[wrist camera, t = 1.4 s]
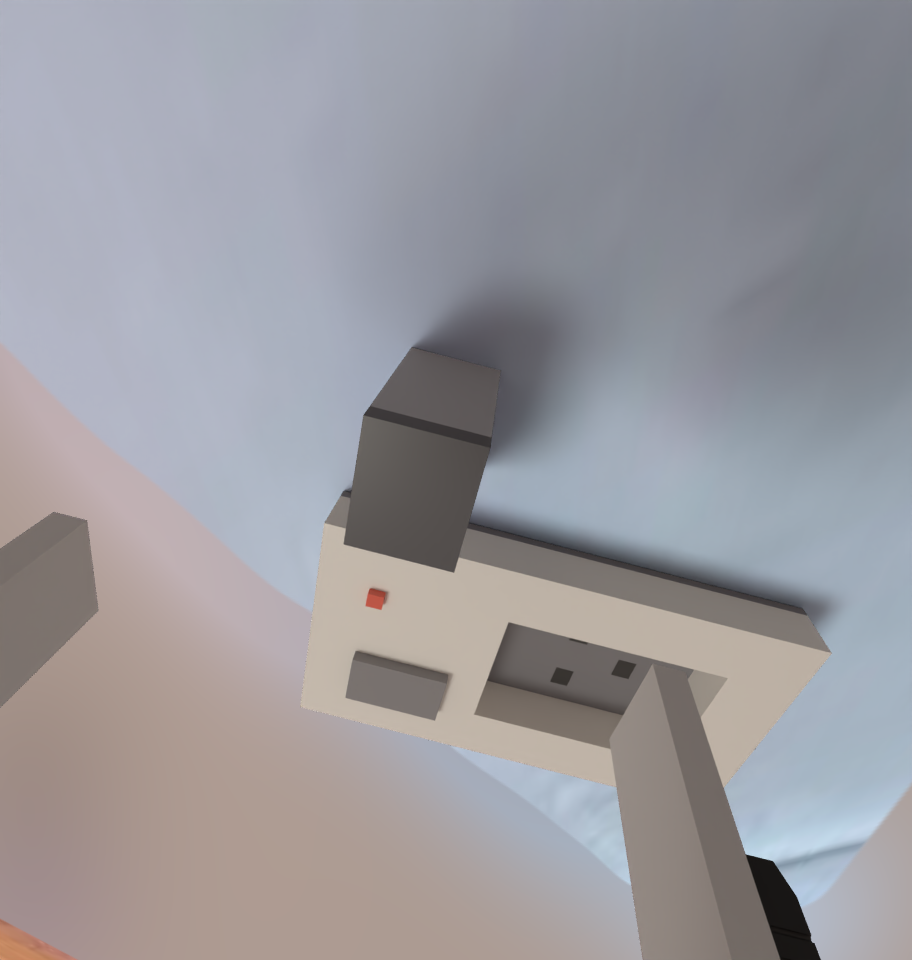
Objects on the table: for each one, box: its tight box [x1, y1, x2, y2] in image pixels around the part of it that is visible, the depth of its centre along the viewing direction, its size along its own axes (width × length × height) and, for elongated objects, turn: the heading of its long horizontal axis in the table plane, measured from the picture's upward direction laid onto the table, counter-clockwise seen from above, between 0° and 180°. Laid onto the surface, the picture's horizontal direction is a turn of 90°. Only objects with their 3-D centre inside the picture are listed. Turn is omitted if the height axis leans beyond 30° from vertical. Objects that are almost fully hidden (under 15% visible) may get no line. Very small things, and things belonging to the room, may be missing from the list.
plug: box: [343, 347, 501, 573], centre depth 21 cm, size 5×4×8 cm
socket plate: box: [300, 491, 832, 788], centre depth 29 cm, size 13×24×4 cm, turn 77°
